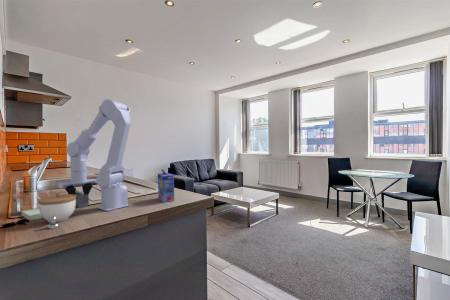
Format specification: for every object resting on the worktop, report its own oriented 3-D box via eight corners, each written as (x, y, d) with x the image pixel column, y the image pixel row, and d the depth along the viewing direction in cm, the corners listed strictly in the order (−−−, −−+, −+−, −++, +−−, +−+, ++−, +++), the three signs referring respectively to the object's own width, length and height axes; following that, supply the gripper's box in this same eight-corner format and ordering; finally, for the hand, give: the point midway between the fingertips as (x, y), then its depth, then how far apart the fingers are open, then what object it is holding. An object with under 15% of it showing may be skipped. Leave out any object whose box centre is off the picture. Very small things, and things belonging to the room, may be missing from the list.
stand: (44, 210, 87) (44, 206, 87) (53, 214, 82) (53, 210, 82) (21, 215, 82) (21, 211, 82) (30, 220, 76) (29, 215, 76)
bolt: (56, 225, 72) (56, 214, 72) (60, 227, 70) (60, 216, 70) (45, 227, 70) (45, 217, 69) (49, 230, 68) (48, 219, 68)
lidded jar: (35, 219, 77) (35, 193, 77) (71, 212, 85) (71, 188, 85) (42, 227, 70) (41, 198, 70) (80, 218, 78) (80, 192, 78)
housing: (80, 202, 99) (80, 190, 99) (88, 205, 94) (88, 192, 94) (70, 204, 96) (69, 191, 95) (78, 207, 91) (78, 194, 91)
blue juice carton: (157, 197, 108) (157, 168, 107) (168, 196, 111) (168, 168, 110) (162, 202, 99) (162, 170, 99) (174, 200, 102) (174, 170, 102)
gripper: (92, 168, 103) (92, 197, 103) (54, 171, 91) (55, 204, 91) (99, 169, 99) (100, 199, 99) (61, 173, 87) (62, 207, 87)
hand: (79, 202), depth 95 cm, fingers closed on housing, 4 cm apart
